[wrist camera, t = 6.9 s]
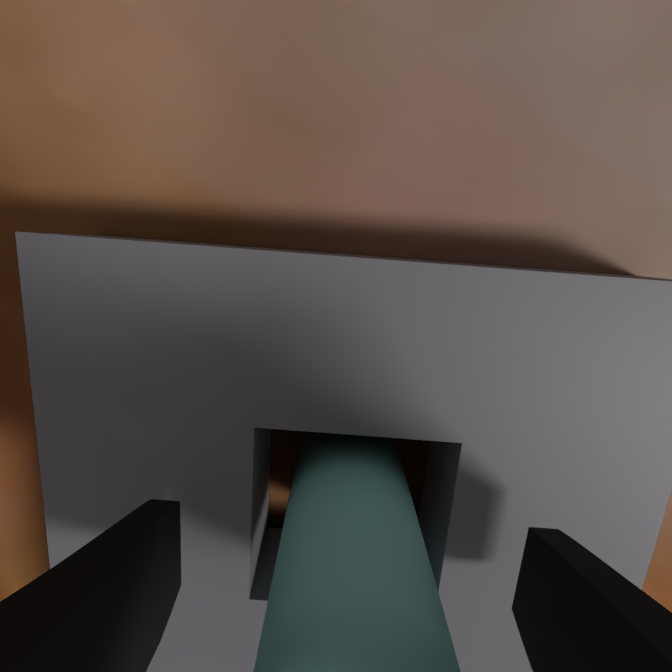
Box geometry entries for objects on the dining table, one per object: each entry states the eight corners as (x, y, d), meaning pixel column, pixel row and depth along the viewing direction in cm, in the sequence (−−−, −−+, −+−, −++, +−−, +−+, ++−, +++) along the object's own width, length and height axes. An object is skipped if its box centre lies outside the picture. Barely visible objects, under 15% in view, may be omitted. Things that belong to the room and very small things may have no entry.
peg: (295, 506, 12) (250, 762, 6) (298, 413, 11) (253, 597, 5) (395, 512, 12) (449, 772, 6) (405, 419, 11) (475, 611, 5)
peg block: (117, 616, 13) (64, 704, 10) (93, 235, 10) (15, 231, 8) (547, 648, 13) (596, 742, 10) (638, 276, 10) (732, 286, 8)
